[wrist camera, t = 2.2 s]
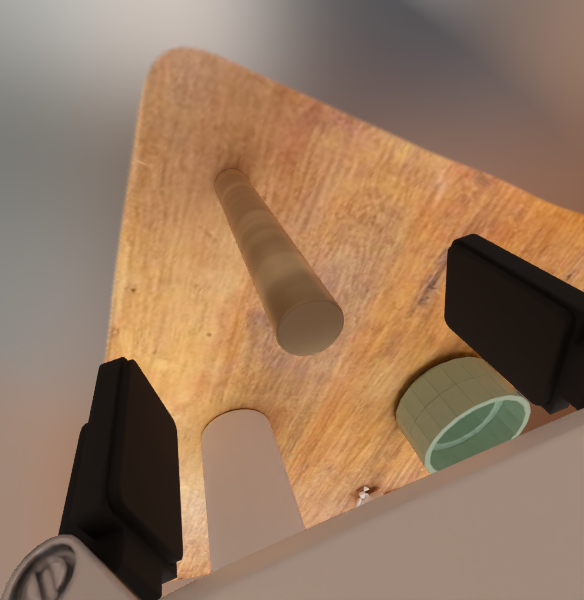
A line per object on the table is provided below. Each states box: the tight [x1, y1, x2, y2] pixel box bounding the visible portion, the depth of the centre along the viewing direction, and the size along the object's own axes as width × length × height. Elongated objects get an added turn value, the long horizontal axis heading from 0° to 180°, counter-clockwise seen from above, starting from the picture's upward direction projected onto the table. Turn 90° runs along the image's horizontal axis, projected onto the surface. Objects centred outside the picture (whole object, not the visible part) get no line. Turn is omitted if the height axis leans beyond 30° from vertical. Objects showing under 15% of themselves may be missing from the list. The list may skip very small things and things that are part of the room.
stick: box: [215, 169, 344, 356], centre depth 16 cm, size 2×2×14 cm
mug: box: [201, 409, 306, 572], centre depth 29 cm, size 10×7×12 cm, turn 9°
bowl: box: [396, 357, 530, 474], centre depth 37 cm, size 11×11×6 cm
